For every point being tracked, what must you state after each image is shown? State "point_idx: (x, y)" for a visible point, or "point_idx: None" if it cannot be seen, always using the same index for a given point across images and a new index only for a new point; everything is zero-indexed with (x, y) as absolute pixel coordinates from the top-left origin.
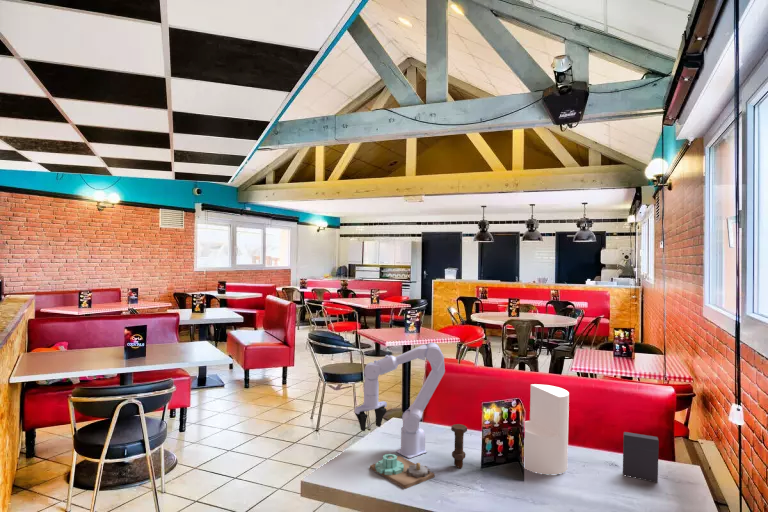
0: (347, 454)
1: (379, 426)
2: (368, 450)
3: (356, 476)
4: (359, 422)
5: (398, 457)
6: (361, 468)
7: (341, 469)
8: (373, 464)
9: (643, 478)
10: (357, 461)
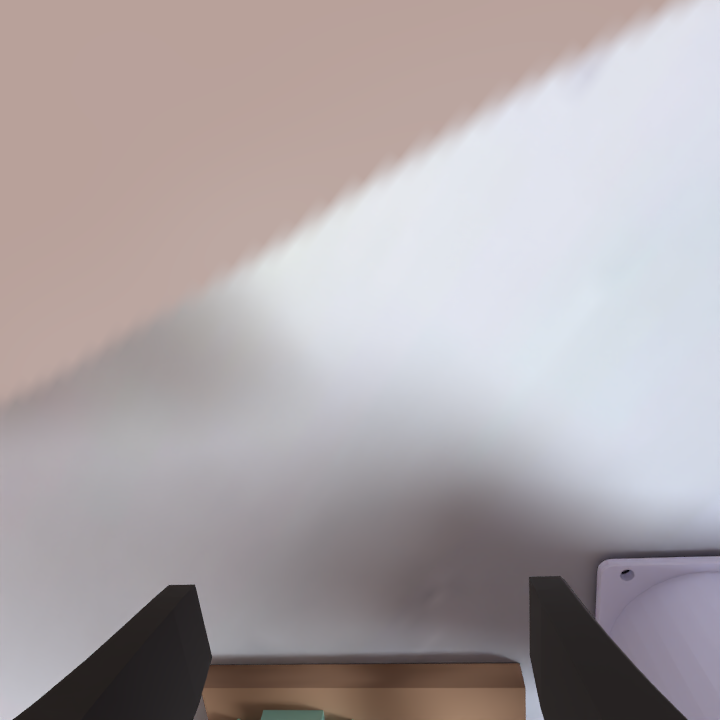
0: (152, 353)
1: (535, 668)
2: (390, 384)
3: None
4: (61, 697)
5: (495, 707)
6: None
7: (3, 566)
8: (232, 691)
9: None
10: (176, 522)
